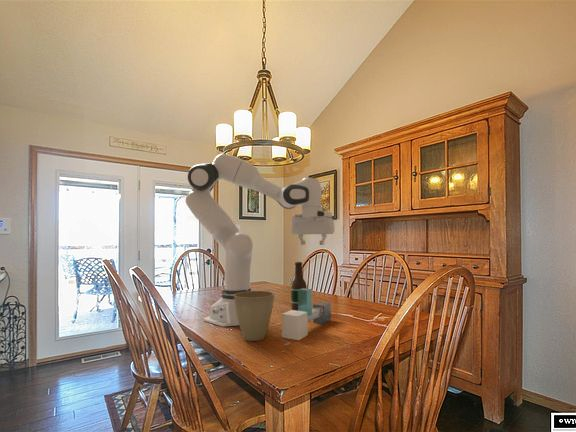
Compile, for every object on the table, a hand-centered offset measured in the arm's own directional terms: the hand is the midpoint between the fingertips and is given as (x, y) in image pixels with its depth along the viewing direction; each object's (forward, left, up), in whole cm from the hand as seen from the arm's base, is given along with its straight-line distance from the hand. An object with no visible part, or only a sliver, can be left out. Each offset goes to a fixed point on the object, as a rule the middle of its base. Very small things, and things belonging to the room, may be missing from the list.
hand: (312, 244), depth 142 cm
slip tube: (+4, -14, -30) cm, 33 cm away
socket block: (+4, -23, -33) cm, 40 cm away
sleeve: (+4, +1, -33) cm, 33 cm away
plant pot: (-8, -32, -33) cm, 47 cm away
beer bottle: (-14, +12, -33) cm, 38 cm away
